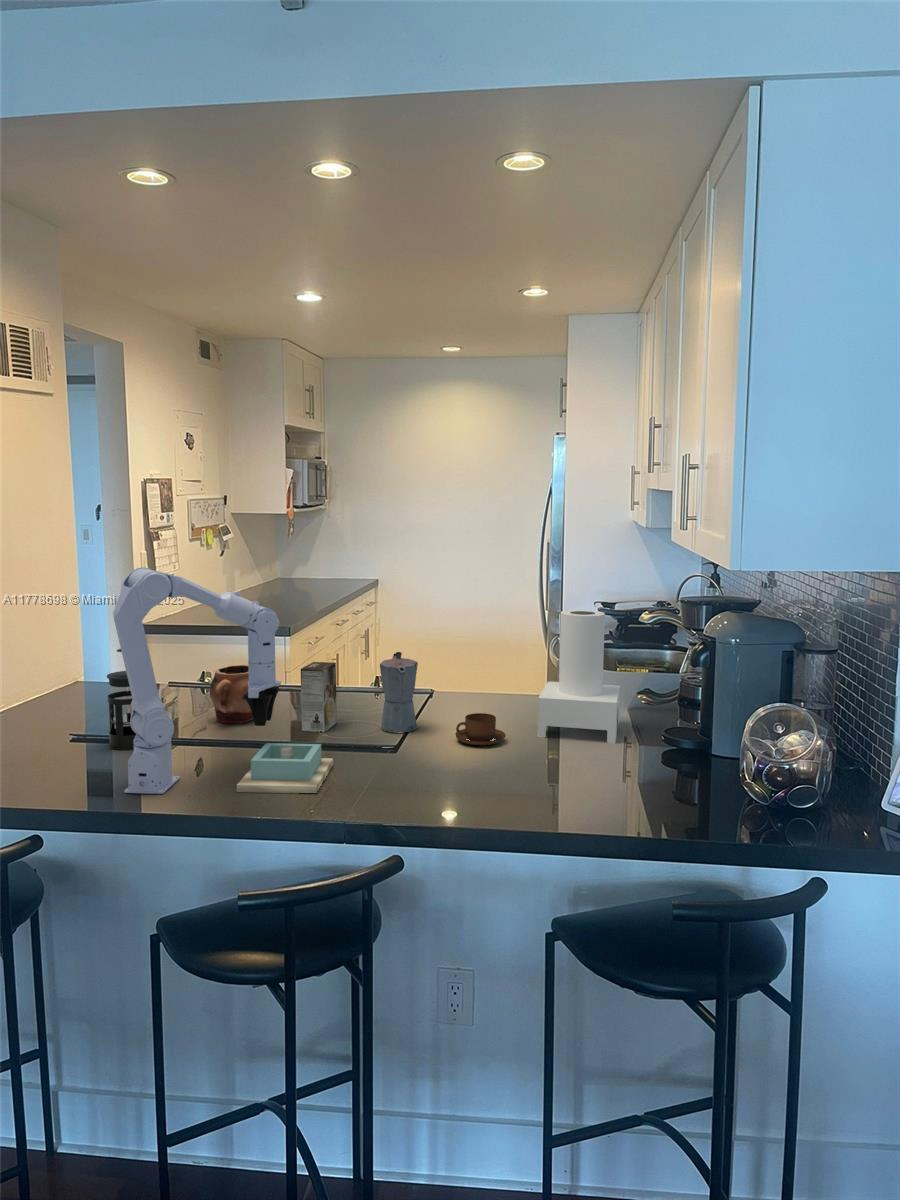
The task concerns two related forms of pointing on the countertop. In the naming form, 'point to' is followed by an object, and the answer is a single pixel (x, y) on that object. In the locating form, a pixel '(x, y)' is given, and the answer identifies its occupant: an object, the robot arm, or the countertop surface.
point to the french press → (120, 713)
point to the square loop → (286, 762)
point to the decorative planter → (231, 694)
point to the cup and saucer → (479, 730)
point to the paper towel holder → (580, 679)
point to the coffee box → (318, 696)
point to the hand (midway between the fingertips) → (263, 722)
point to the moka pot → (398, 694)
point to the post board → (287, 785)
